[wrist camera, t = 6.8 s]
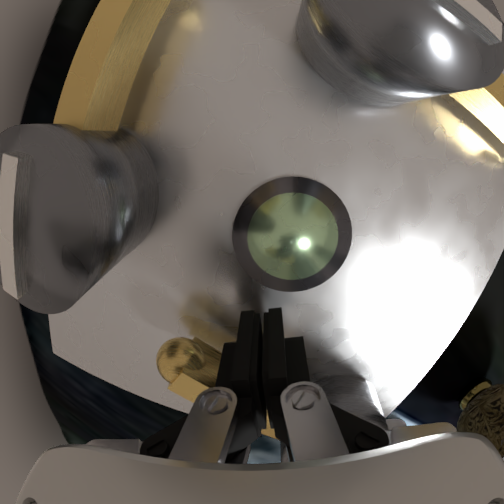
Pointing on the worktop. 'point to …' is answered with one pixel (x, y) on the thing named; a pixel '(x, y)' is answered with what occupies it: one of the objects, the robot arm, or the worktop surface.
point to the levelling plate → (290, 212)
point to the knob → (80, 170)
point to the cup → (483, 411)
